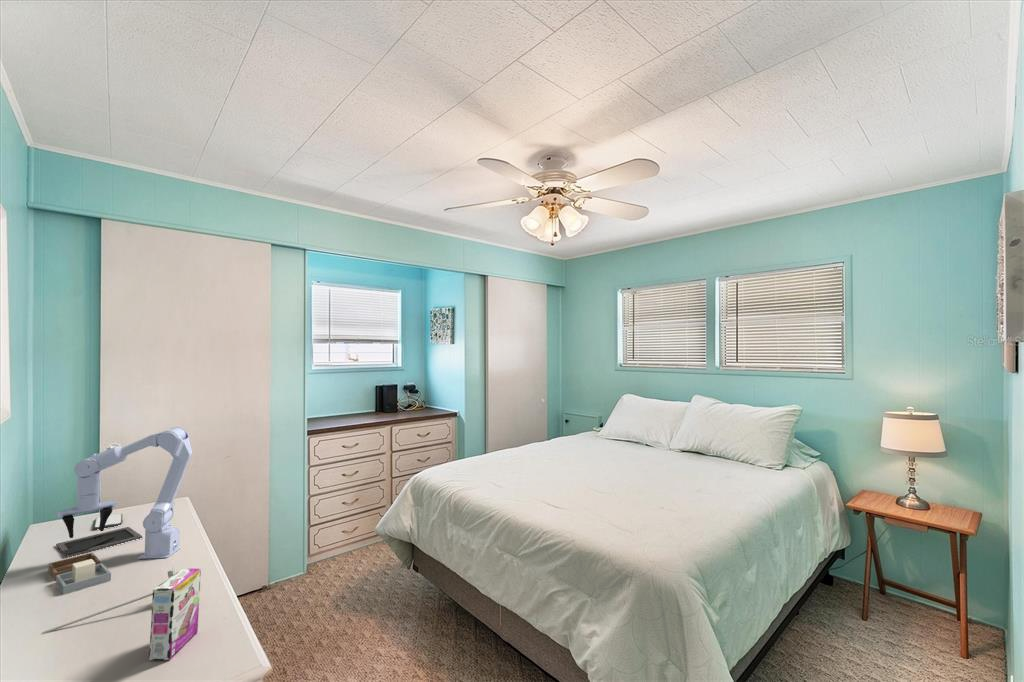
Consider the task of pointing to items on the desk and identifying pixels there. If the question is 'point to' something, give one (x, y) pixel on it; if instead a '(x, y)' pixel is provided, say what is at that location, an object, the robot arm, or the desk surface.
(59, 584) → the grey tray
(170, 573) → the brush
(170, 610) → the candy bar box
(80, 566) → the sandstone block
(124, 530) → the picture frame
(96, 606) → the desk surface
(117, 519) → the phone case
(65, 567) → the walnut tray
